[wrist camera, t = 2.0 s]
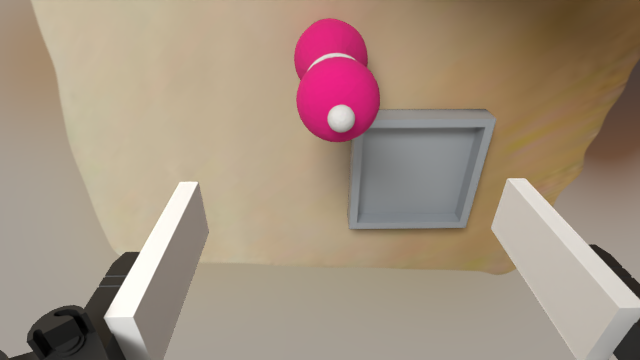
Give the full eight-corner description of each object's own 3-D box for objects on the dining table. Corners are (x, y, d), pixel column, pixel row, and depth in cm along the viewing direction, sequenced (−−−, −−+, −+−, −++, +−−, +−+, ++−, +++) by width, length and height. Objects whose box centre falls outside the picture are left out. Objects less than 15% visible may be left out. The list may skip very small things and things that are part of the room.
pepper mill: (320, 93, 42) (326, 190, 25) (282, 40, 39) (260, 110, 22) (374, 57, 40) (419, 137, 23) (338, -3, 37) (362, 39, 20)
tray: (353, 109, 43) (355, 119, 41) (485, 109, 44) (496, 119, 41) (347, 215, 52) (349, 229, 49) (458, 214, 52) (465, 227, 50)
